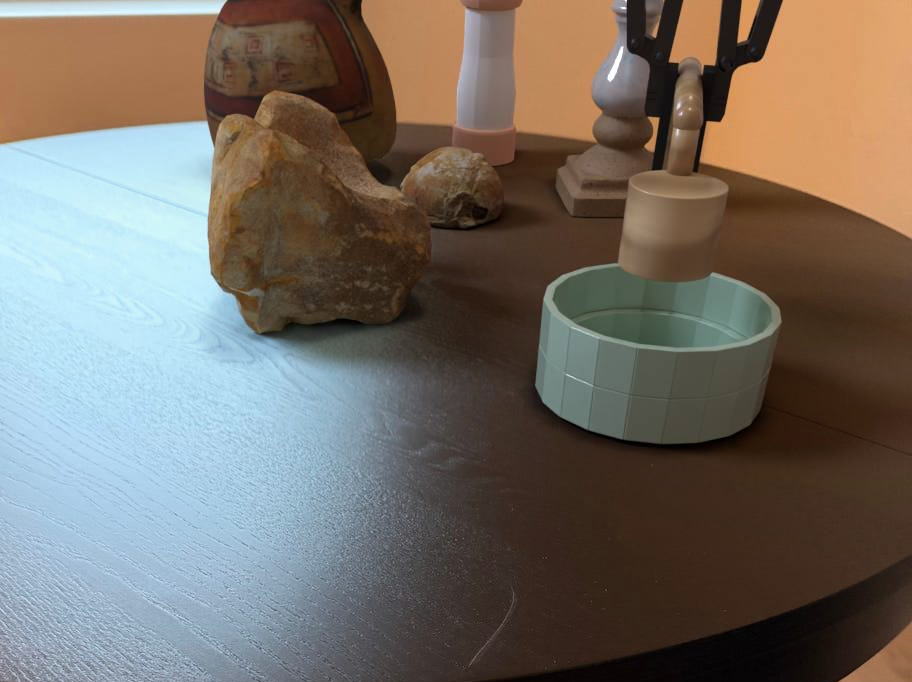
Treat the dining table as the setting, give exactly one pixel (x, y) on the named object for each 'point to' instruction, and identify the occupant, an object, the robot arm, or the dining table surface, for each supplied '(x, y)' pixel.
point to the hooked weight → (675, 199)
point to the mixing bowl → (655, 354)
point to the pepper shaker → (487, 81)
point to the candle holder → (613, 129)
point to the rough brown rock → (308, 222)
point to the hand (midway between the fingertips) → (674, 167)
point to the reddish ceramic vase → (301, 66)
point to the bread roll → (455, 188)
